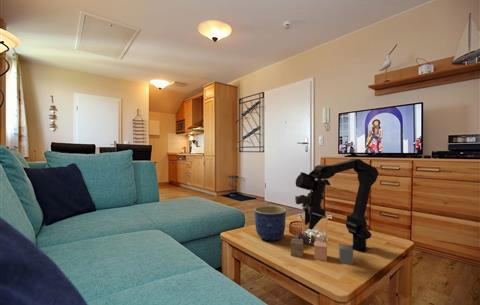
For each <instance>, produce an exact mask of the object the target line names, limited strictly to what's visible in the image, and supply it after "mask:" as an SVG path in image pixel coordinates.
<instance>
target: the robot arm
mask: <svg viewBox="0 0 480 305" xmlns="http://www.w3.org/2000/svg"><path fill="white" fill-rule="evenodd" d="M350 170H353V171H354V172H356V173H357V180H358V183H359V184H358V189H357V193H356V198H355V202H354V206H353V211H352V213H351V214H347V216H346V220H345V227H346V230H347V231H348V233H349V234H351V235H352V244H351V245H352V248H353V250H355V251H357V252H358V251H359V252H361V253H365V252H366V251H368V250H369V249H370V247H369V246H367V240H369V239H371V238H372V232H370V231H369V229H368V227H367V220H366V216H365V215H366V211H367V206H368V201H369V197H370V192H371V190H372V189H371V187H372V186H373V185H374V184H375V183H376V182H377V179H378V177H379V170H378V169H377V168H376V167H375V166H372V165H370V164H369V163H366V162H365V161H364V160H363V159H360V158H351V159H349V160H345V161H344V160H343V161H342V162H337V163H333V164H319V165H315V166H314V168H313V170H312V171H310V172H309V173H306V172H301V171H300V174H299V175H298V176H297V177H296V178H295V187H297V188H300V189H303V190H307V191H309V192H307V195H304V194H300V195H297V196H294V197H295V198H294V200H295V204H296V205H301V207H302V209H303V211H304V225H306V226H307V225H308V229H309V230H310V231H312V230H313V229H314V227H315V226H317V224H318V223H319V222H320V221H321V220H322V219H323V218H324V217H325V216H326V213H327V212H326V210H325V208H324V207H322V203H323V202H322V201H323V200H324V199H325V197H324V194H325V189H326V186H329V187H330V186H331V182H329V179H331V178H332V177H334V176H335V175H336V174H338V173H339V174H340V173H341V172H346V171H350Z"/></svg>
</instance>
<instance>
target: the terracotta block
mask: <svg viewBox="0 0 480 305" xmlns="http://www.w3.org/2000/svg"><path fill="white" fill-rule="evenodd" d="M327 246H328V243H327V242H325V241H319V240H315V241H314V249H313V252H314V260H318V261H325V262H327V261H328V255H327V254H328V247H327Z"/></svg>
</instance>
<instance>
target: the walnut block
mask: <svg viewBox="0 0 480 305" xmlns="http://www.w3.org/2000/svg"><path fill="white" fill-rule="evenodd" d="M290 256H291V257H298V258H303V257H304V242H303V240H302V239H294V237H293V238H291V240H290Z"/></svg>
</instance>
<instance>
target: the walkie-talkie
mask: <svg viewBox="0 0 480 305" xmlns="http://www.w3.org/2000/svg"><path fill="white" fill-rule="evenodd" d="M293 239H302V240H303V243H305V242H306V244H310V243H309V241H310V240H309V239H311V238H310V237H308V236H307V233H306V232H304V231H303V234H302V231H300V230H299V231H298V233H296V234H295V235H294V237H293Z"/></svg>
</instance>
